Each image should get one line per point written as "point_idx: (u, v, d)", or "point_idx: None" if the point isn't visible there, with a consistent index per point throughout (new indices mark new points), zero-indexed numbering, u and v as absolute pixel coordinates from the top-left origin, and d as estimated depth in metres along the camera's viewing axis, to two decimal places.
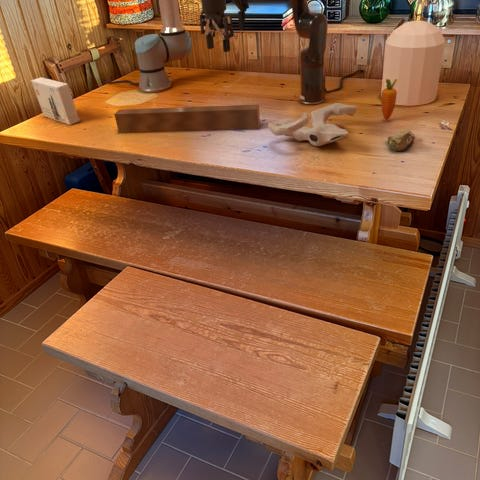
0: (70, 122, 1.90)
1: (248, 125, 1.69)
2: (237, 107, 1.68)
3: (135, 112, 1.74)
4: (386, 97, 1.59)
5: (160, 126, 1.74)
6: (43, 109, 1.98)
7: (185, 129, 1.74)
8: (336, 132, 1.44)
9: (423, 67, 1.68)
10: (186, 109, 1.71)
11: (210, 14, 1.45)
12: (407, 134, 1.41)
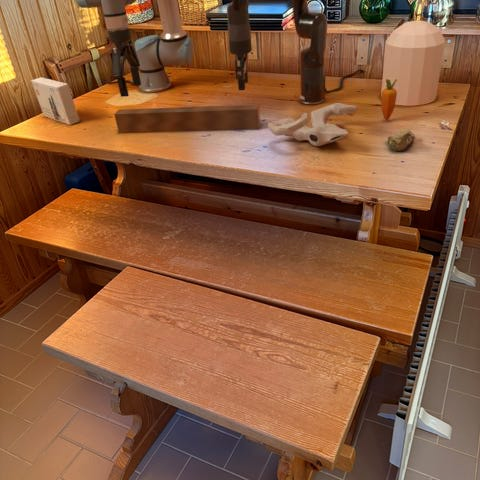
0: (70, 122, 1.90)
1: (248, 125, 1.69)
2: (237, 107, 1.68)
3: (135, 112, 1.74)
4: (386, 97, 1.59)
5: (160, 126, 1.74)
6: (43, 109, 1.98)
7: (185, 129, 1.74)
8: (336, 132, 1.44)
9: (423, 67, 1.68)
10: (186, 109, 1.71)
11: None
12: (407, 134, 1.41)
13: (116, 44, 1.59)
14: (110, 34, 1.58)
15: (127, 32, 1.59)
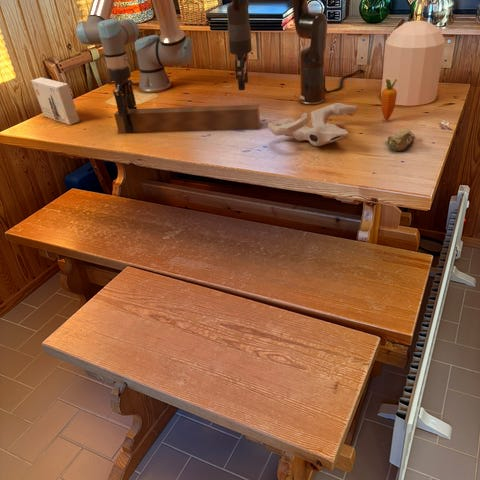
0: (70, 122, 1.90)
1: (248, 125, 1.69)
2: (237, 107, 1.68)
3: (135, 112, 1.74)
4: (386, 97, 1.59)
5: (160, 126, 1.74)
6: (43, 109, 1.98)
7: (185, 129, 1.74)
8: (336, 132, 1.44)
9: (423, 67, 1.68)
10: (186, 109, 1.71)
11: None
12: (407, 134, 1.41)
13: (116, 82, 1.65)
14: (110, 73, 1.64)
15: (127, 71, 1.65)
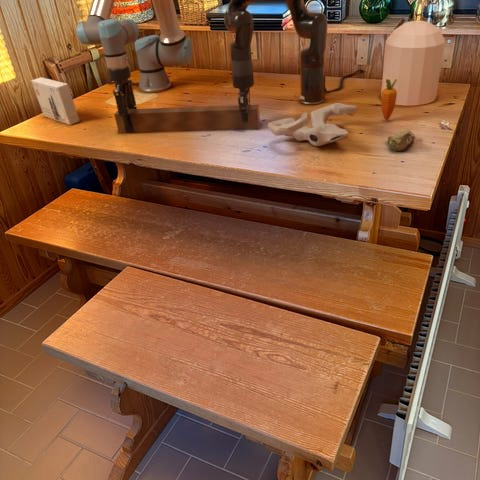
0: (70, 122, 1.90)
1: (248, 125, 1.69)
2: (237, 107, 1.68)
3: (135, 112, 1.74)
4: (386, 97, 1.59)
5: (160, 126, 1.74)
6: (43, 109, 1.98)
7: (185, 129, 1.74)
8: (336, 132, 1.44)
9: (423, 67, 1.68)
10: (186, 109, 1.71)
11: None
12: (407, 134, 1.41)
13: (116, 82, 1.65)
14: (110, 73, 1.64)
15: (127, 71, 1.65)
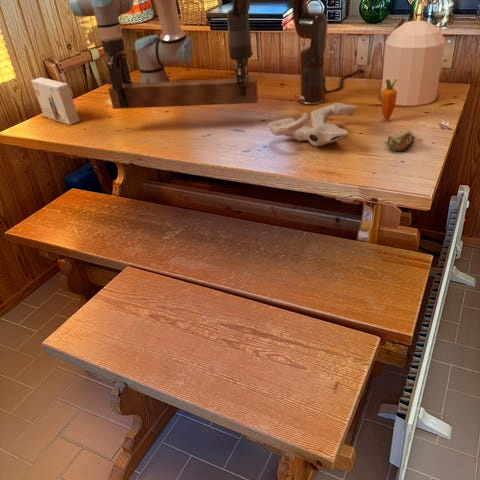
0: (70, 122, 1.90)
1: (246, 99, 1.64)
2: (234, 80, 1.63)
3: (129, 86, 1.68)
4: (386, 97, 1.59)
5: (156, 101, 1.69)
6: (43, 109, 1.98)
7: (181, 104, 1.68)
8: (336, 132, 1.44)
9: (423, 67, 1.68)
10: (182, 83, 1.66)
11: None
12: (407, 134, 1.41)
13: (110, 54, 1.60)
14: (104, 44, 1.59)
15: (121, 42, 1.60)
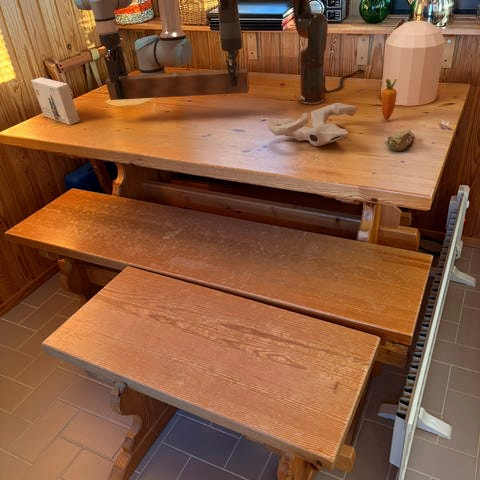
0: (70, 122, 1.90)
1: (237, 89, 1.71)
2: (226, 71, 1.70)
3: (126, 78, 1.76)
4: (386, 97, 1.59)
5: (151, 92, 1.76)
6: (43, 109, 1.98)
7: (175, 94, 1.76)
8: (336, 132, 1.44)
9: (423, 67, 1.68)
10: (176, 74, 1.73)
11: None
12: (407, 134, 1.41)
13: (107, 47, 1.67)
14: (101, 38, 1.66)
15: (117, 35, 1.67)
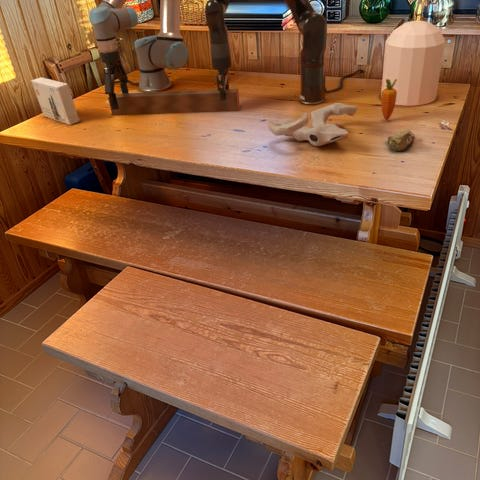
0: (70, 122, 1.90)
1: (228, 107, 1.87)
2: (218, 91, 1.86)
3: (126, 95, 1.92)
4: (386, 97, 1.59)
5: (149, 109, 1.92)
6: (43, 109, 1.98)
7: (172, 111, 1.92)
8: (336, 132, 1.44)
9: (423, 67, 1.68)
10: (173, 93, 1.89)
11: None
12: (407, 134, 1.41)
13: (107, 64, 1.83)
14: (102, 56, 1.82)
15: (116, 54, 1.82)
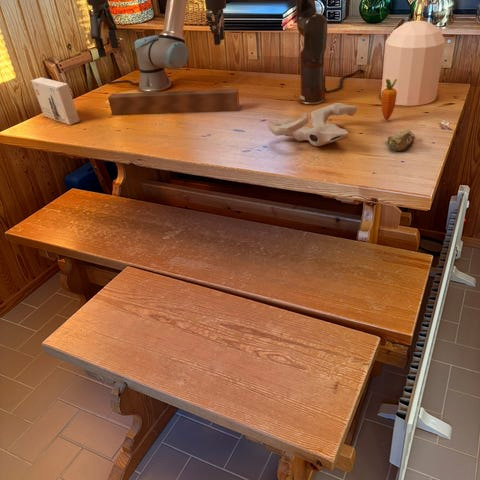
0: (70, 122, 1.90)
1: (228, 107, 1.87)
2: (218, 91, 1.86)
3: (126, 95, 1.92)
4: (386, 97, 1.59)
5: (149, 109, 1.92)
6: (43, 109, 1.98)
7: (172, 111, 1.92)
8: (336, 132, 1.44)
9: (423, 67, 1.68)
10: (173, 93, 1.89)
11: None
12: (407, 134, 1.41)
13: (93, 6, 1.71)
14: None
15: None
